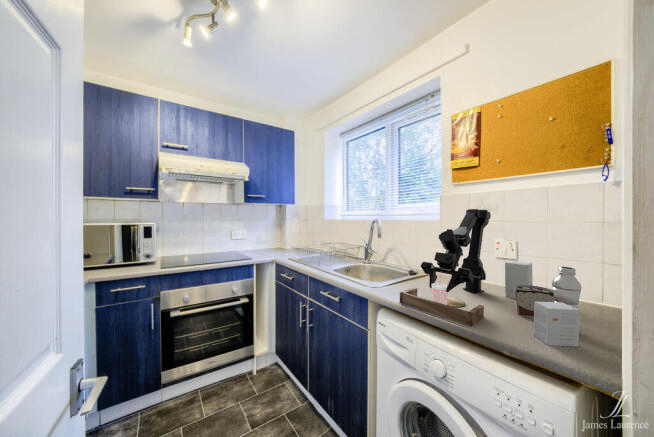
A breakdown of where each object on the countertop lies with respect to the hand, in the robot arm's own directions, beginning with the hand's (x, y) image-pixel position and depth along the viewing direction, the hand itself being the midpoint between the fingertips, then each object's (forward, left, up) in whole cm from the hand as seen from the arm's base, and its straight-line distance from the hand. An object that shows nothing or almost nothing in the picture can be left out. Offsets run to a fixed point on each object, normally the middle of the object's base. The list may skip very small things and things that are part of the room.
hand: (438, 289), depth 91 cm
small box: (-13, +30, -8) cm, 33 cm away
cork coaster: (-11, -3, -8) cm, 14 cm away
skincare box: (-42, +4, -8) cm, 43 cm away
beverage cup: (-1, 0, -8) cm, 8 cm away
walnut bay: (-1, 0, -8) cm, 8 cm away
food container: (-28, +16, -8) cm, 33 cm away
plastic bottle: (-23, +28, -8) cm, 37 cm away
